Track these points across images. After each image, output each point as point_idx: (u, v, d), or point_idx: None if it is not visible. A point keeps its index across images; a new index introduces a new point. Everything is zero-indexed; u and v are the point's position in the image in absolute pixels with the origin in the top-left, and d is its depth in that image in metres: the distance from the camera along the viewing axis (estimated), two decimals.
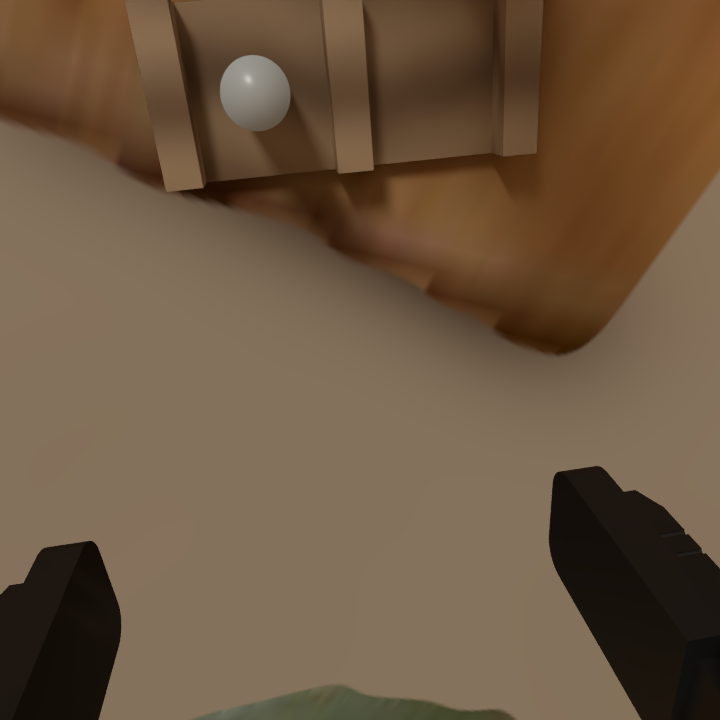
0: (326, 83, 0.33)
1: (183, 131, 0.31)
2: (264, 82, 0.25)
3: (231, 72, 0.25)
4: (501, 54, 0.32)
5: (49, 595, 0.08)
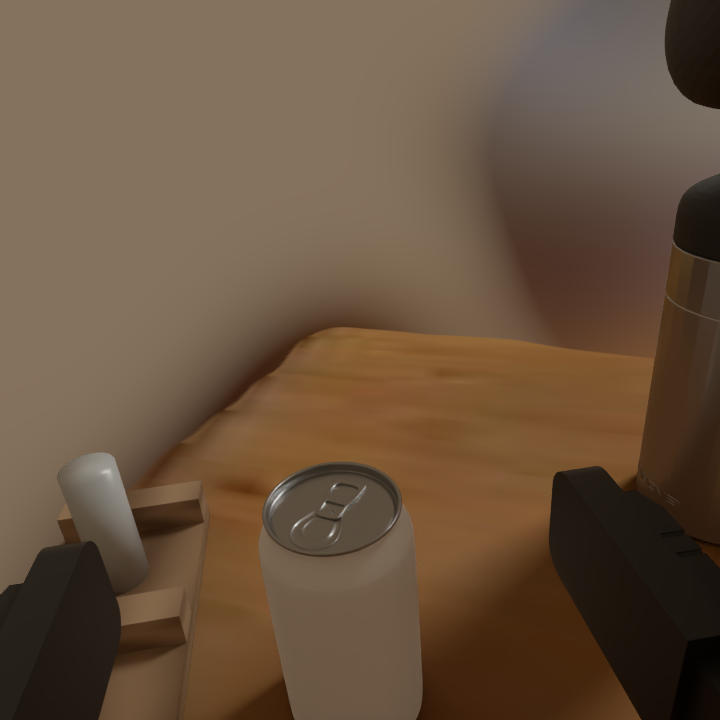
0: None
1: None
2: (92, 472, 0.32)
3: (107, 457, 0.34)
4: None
5: (49, 595, 0.08)
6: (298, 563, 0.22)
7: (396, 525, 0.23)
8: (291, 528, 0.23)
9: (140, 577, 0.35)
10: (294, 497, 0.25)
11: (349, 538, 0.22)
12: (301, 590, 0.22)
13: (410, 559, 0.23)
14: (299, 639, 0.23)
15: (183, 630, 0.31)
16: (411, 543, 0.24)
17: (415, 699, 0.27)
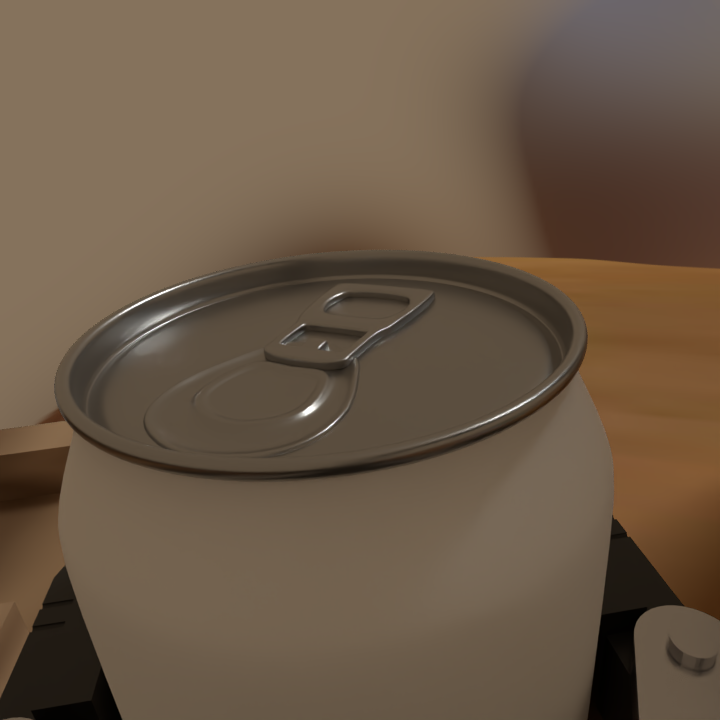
0: None
1: None
2: None
3: None
4: None
5: None
6: (155, 519, 0.05)
7: (575, 380, 0.06)
8: (161, 392, 0.06)
9: None
10: (204, 324, 0.08)
11: (389, 420, 0.05)
12: (169, 640, 0.05)
13: (611, 522, 0.06)
14: None
15: None
16: (612, 464, 0.06)
17: None
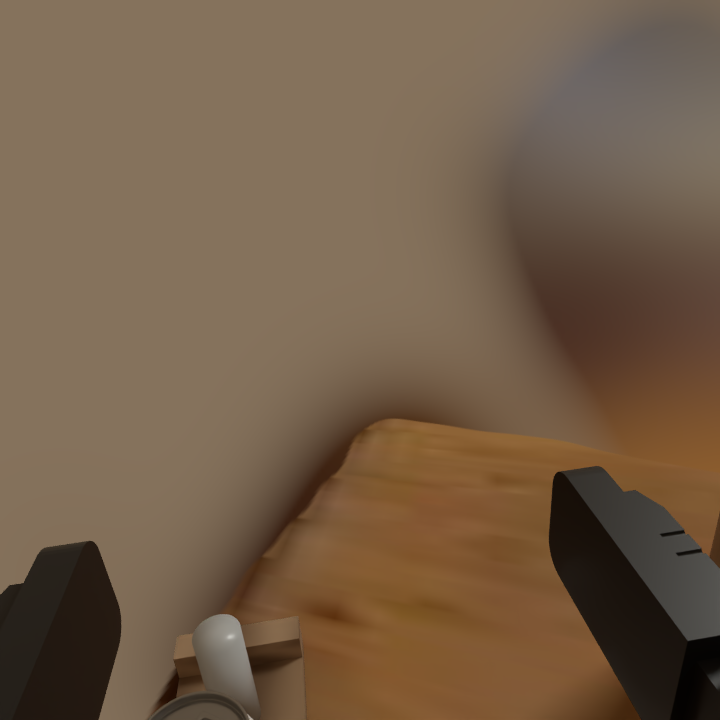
0: None
1: None
2: (222, 639, 0.36)
3: (232, 620, 0.38)
4: None
5: (49, 595, 0.08)
6: None
7: None
8: None
9: None
10: None
11: None
12: None
13: None
14: None
15: None
16: None
17: None
